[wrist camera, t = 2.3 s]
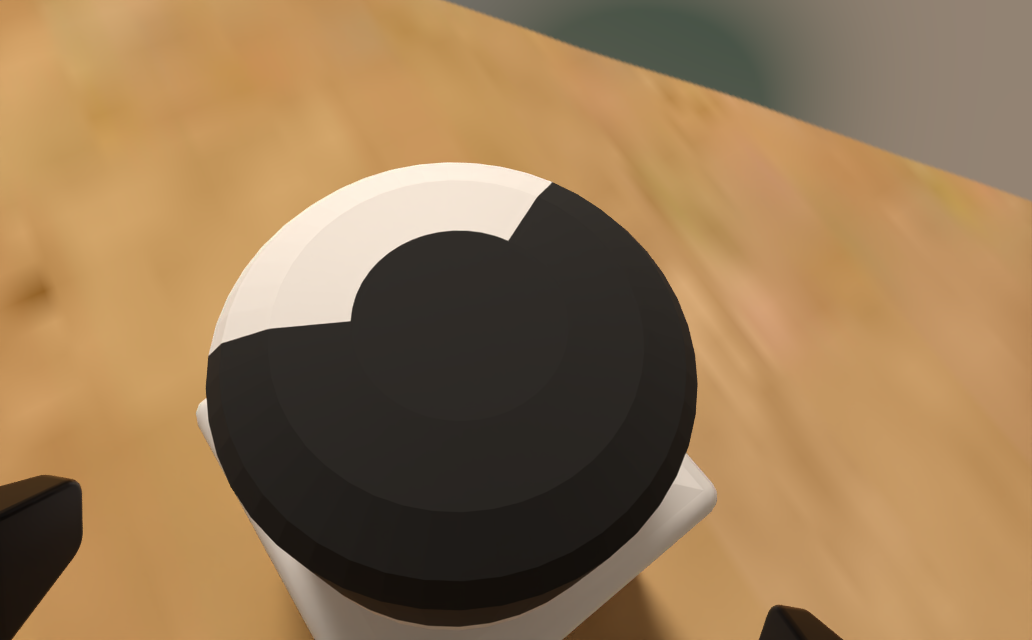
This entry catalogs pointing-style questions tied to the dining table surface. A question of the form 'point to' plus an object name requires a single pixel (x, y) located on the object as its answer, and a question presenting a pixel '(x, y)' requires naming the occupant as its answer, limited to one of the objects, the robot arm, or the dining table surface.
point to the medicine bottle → (455, 407)
